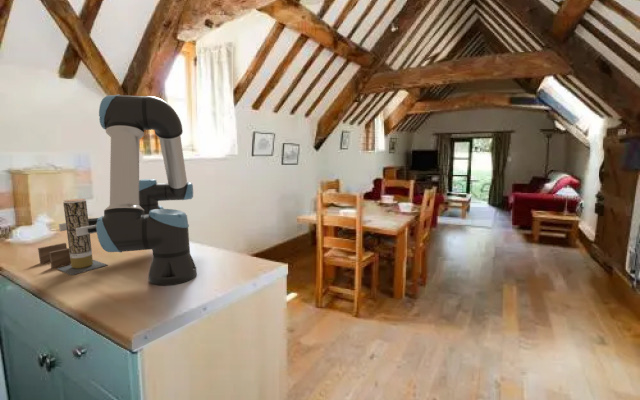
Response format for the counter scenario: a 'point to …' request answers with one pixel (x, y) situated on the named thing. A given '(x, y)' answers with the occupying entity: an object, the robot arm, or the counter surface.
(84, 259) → the paper tube
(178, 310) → the counter surface
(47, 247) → the board
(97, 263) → the mat
